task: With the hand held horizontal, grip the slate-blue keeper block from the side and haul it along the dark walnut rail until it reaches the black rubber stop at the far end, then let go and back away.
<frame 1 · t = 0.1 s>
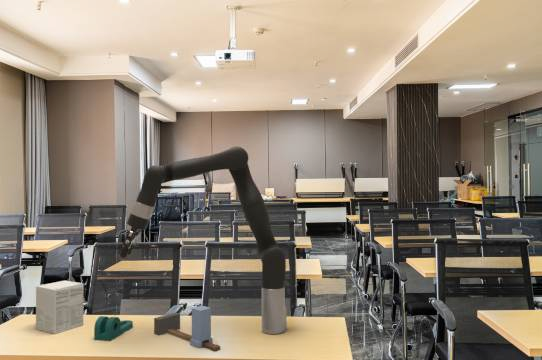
hand: (124, 255, 157), 31 cm above the table, tool tilted 20°, fingers open, 8 cm apart
supplement box: (59, 327, 171), on the table
rail: (192, 340, 153), on the table
keeper: (201, 326, 150), point 7 cm above the table, slide at 0.0 cm
stop block: (167, 331, 164), on the table
bracket: (116, 333, 163), on the table
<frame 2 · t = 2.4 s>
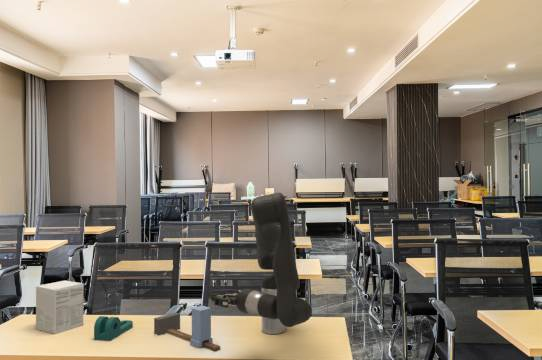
hand: (221, 294, 143), 20 cm above the table, tool horizontal, fingers open, 8 cm apart
nothing on the table moved.
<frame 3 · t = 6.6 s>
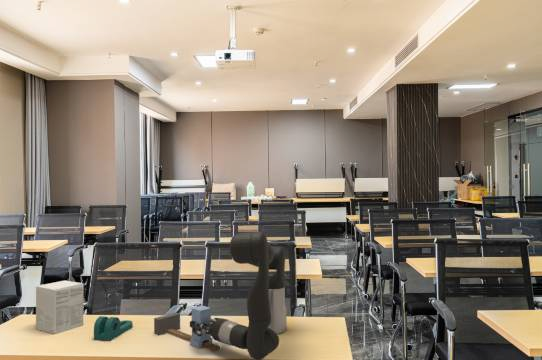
hand: (196, 321, 152), 8 cm above the table, tool horizontal, fingers closed on keeper, 4 cm apart
keeper: (201, 326, 150), point 7 cm above the table, slide at 0.0 cm, touching gripper
everything else where it was.
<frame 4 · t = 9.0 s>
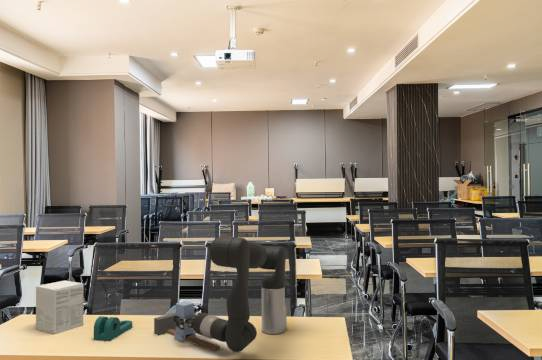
hand: (180, 316, 158), 7 cm above the table, tool horizontal, fingers closed on keeper, 5 cm apart
keeper: (184, 320, 156), point 7 cm above the table, slide at 9.9 cm, touching gripper
everything else where it was.
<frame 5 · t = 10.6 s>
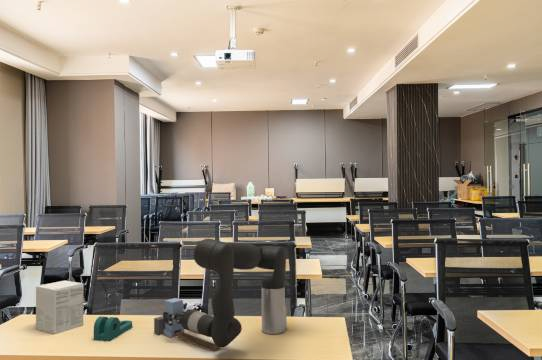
hand: (170, 313, 163), 7 cm above the table, tool horizontal, fingers closed on keeper, 4 cm apart
keeper: (173, 316, 161), point 7 cm above the table, slide at 17.0 cm, touching gripper
everything else where it was.
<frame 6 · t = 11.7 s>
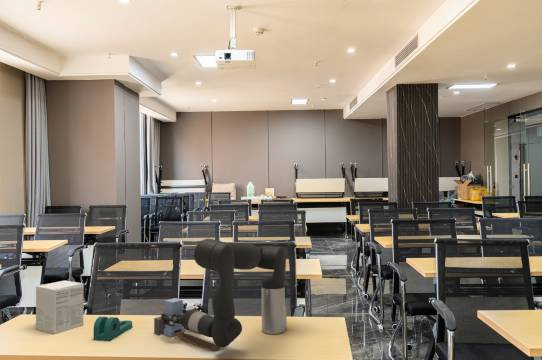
hand: (171, 313, 162), 7 cm above the table, tool horizontal, fingers open, 8 cm apart
keeper: (173, 316, 161), point 7 cm above the table, slide at 17.0 cm
everything else where it was.
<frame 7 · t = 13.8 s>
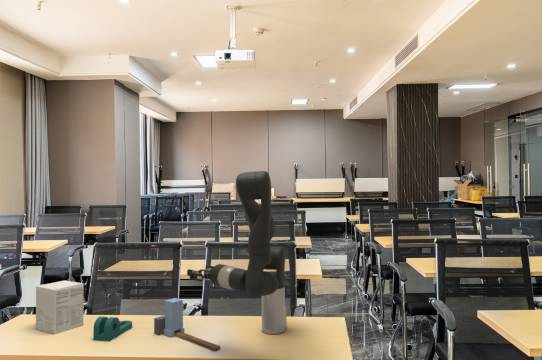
hand: (197, 270, 152), 26 cm above the table, tool horizontal, fingers open, 8 cm apart
nothing on the table moved.
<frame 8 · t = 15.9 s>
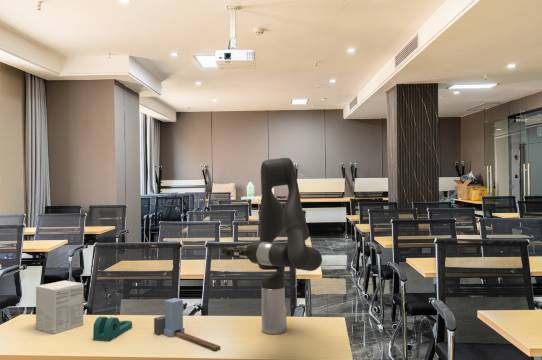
hand: (231, 248, 145), 35 cm above the table, tool horizontal, fingers open, 8 cm apart
nothing on the table moved.
at the end: keeper slide at 17.0 cm; the gripper is holding nothing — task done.
